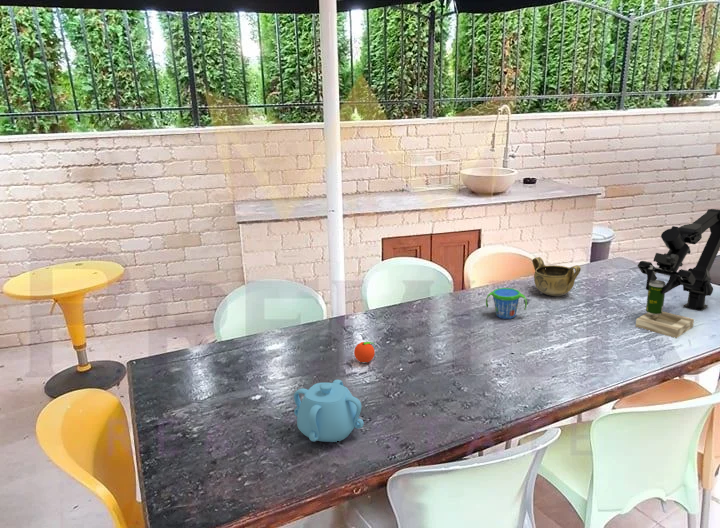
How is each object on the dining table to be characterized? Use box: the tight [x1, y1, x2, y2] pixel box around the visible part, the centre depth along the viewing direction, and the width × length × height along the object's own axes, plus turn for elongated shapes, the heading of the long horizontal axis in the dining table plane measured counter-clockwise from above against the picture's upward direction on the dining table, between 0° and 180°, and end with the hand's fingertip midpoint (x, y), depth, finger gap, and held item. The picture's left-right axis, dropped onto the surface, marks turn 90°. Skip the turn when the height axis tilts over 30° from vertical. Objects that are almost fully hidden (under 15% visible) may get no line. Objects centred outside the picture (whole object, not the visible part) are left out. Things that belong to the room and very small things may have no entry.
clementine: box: [353, 341, 376, 363], centre depth 174 cm, size 8×7×7 cm
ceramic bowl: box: [532, 256, 582, 297], centre depth 226 cm, size 22×17×15 cm
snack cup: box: [485, 287, 528, 320], centre depth 205 cm, size 16×10×10 cm
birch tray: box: [635, 311, 695, 339], centre depth 190 cm, size 14×14×4 cm
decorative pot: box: [293, 379, 365, 443], centre depth 136 cm, size 16×16×14 cm
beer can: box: [645, 279, 666, 315], centre depth 189 cm, size 5×5×12 cm
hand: (654, 291), depth 188 cm, fingers closed on beer can, 5 cm apart
